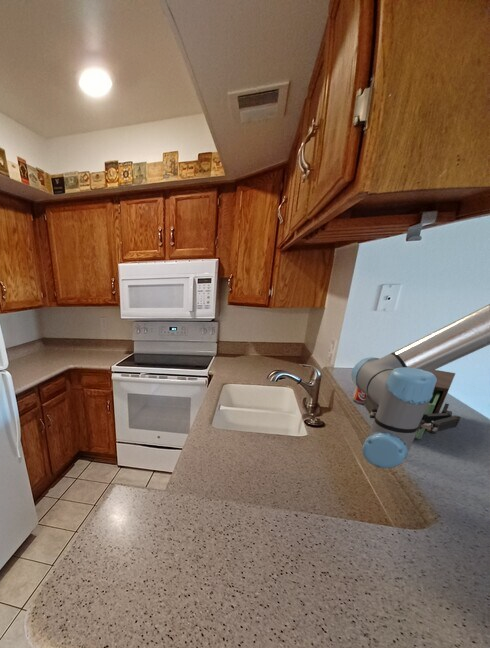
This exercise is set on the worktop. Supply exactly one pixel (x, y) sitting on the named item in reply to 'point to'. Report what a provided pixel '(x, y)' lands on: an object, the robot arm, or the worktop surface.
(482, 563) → the worktop surface
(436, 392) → the storage bin
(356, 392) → the soda can
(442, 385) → the cubby
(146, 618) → the worktop surface
